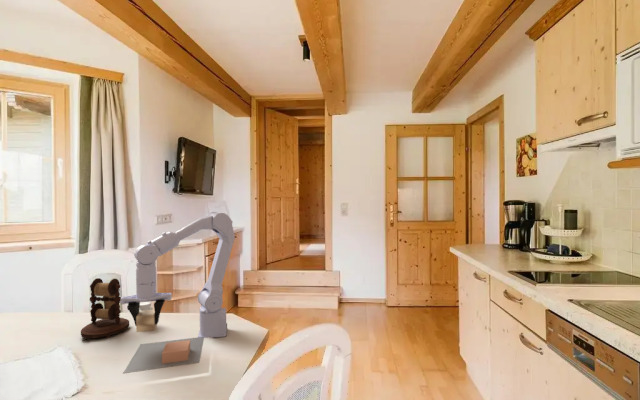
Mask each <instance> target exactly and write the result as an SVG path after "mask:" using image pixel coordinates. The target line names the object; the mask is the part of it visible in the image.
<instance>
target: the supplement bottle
mask: <svg viewBox="0 0 640 400" xmlns="http://www.w3.org/2000/svg"><path fill="white" fill-rule="evenodd" d="M151 302H152V301H149V302H140V307H139V312H140V311H145V310H154V309H153V307H151V306H152V303H151Z"/></svg>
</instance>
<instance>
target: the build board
mask: <svg viewBox="0 0 640 400" xmlns="http://www.w3.org/2000/svg"><path fill="white" fill-rule="evenodd" d="M204 340H205V338H203V337H198V336H196V337H189V338H182V339H174V340H173V339H172V340H164V341H155V342H148V343H147V342H146V343H140V344H139V346H138V348H137V349H136V350H135V353H134V354H133V356H132V357H131V359H130V361H129V363H128V364H127V366H126V368H125V369H124V371H123V372H122V374H128V373H135V372H136V373H137V372H143V371H150V370H158V369H164V368H165V369H166V368H170V367H172V368H173V367H178V366H185V365H192V364H193V365H194V364H199V363H200V359H201V354H202V351H203V350H202V349H203V344H204Z"/></svg>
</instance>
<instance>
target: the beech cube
mask: <svg viewBox="0 0 640 400" xmlns="http://www.w3.org/2000/svg"><path fill="white" fill-rule="evenodd" d="M157 326H158V323H157V324H155V309H153V310H145V311H140V312H139V314H138V315H137V316H136V326H135V327H136V330H135V331H136V333H143V332H150V331H151V332H152V331H155V329H156V328H157Z"/></svg>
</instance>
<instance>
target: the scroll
mask: <svg viewBox="0 0 640 400" xmlns="http://www.w3.org/2000/svg"><path fill="white" fill-rule="evenodd" d="M89 288H90V297H89V301H90V303H91V305H90V308H91V309H90V311H89V312H90V317H91V319H90V321H91V322H90V323H88V324H86V325H85V326H84V327H82V328H81V329H80V336H81V338H82V339H86V338H87V339H97V338H103V337H105V338H106V339H110V337H111V336H113V335H115V334H118V333H121V332H123V331H125V330H126V329H128V328H129V326H130V320H129V319H127V318H124V317H121V312H122V310H121V309H120V308H121V304H120V299H121V298H122V296H121V293H120V290H121V289H120V288H121V284H120V281H119V279H118V278H112V279H111V280H110V281H109V282H104V281H103V279H101V278H98V277H97V278H95V279H93V281H92V282H91V284H90V285H89ZM100 301H101V302H103V304H102V303H100ZM96 302H97V303H96Z"/></svg>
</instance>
